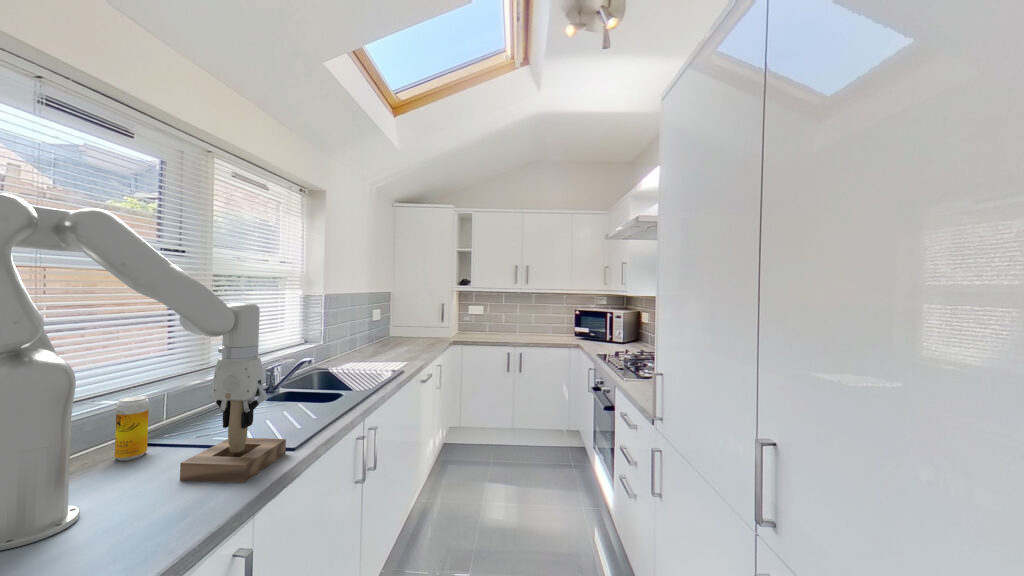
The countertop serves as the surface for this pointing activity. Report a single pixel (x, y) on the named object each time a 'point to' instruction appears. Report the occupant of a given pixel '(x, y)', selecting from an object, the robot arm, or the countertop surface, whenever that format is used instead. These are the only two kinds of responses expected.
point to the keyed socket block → (232, 461)
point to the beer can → (131, 427)
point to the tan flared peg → (236, 426)
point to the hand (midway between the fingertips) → (237, 425)
